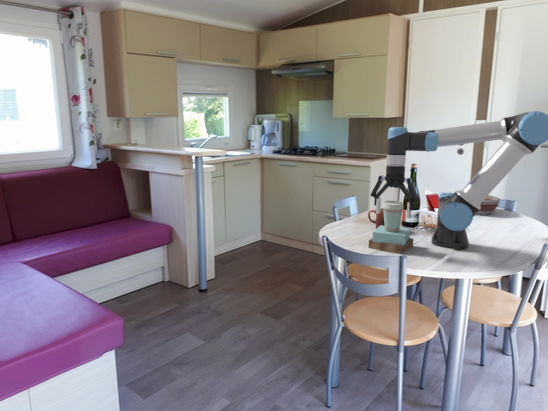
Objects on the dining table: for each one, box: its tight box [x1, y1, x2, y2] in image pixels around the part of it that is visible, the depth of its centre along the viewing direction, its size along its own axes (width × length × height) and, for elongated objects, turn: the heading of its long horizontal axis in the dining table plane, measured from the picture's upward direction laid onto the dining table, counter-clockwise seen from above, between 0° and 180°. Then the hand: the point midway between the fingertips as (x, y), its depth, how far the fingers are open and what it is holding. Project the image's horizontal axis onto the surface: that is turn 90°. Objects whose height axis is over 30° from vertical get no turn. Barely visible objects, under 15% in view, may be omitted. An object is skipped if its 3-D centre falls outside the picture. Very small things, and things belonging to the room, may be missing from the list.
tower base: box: [368, 237, 414, 255], centre depth 189 cm, size 14×14×4 cm
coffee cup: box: [382, 200, 404, 232], centre depth 186 cm, size 8×8×12 cm
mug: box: [367, 207, 385, 230], centre depth 217 cm, size 12×9×10 cm
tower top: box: [372, 225, 411, 245], centre depth 188 cm, size 13×13×4 cm
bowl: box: [477, 194, 501, 215], centre depth 254 cm, size 23×23×10 cm
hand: (393, 215), depth 186 cm, fingers open, 13 cm apart
